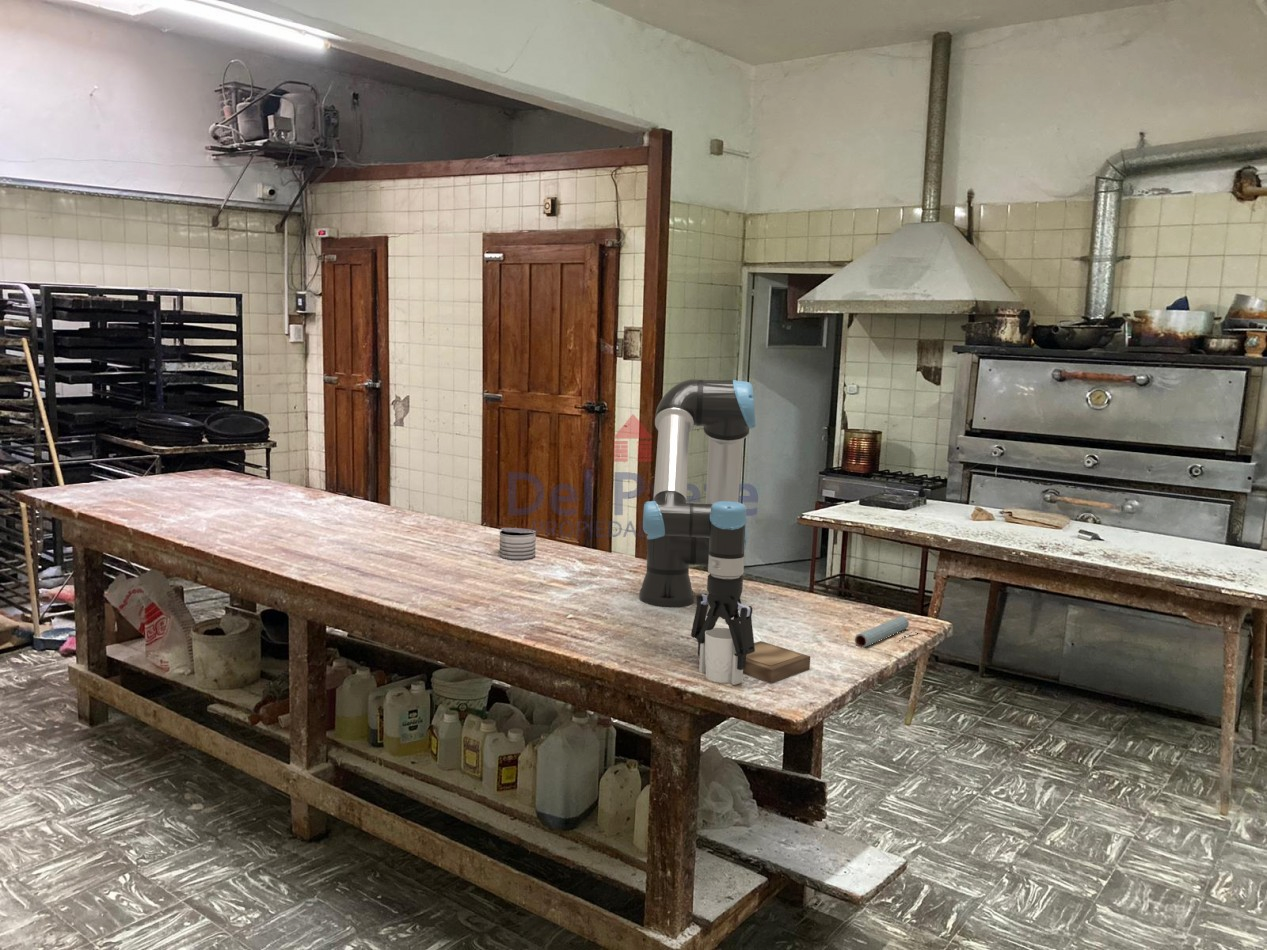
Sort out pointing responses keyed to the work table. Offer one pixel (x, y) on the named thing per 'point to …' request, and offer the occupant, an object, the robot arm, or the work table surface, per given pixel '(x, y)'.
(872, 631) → the aluminum foil
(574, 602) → the work table surface
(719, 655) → the white cup
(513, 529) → the can
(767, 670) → the base
